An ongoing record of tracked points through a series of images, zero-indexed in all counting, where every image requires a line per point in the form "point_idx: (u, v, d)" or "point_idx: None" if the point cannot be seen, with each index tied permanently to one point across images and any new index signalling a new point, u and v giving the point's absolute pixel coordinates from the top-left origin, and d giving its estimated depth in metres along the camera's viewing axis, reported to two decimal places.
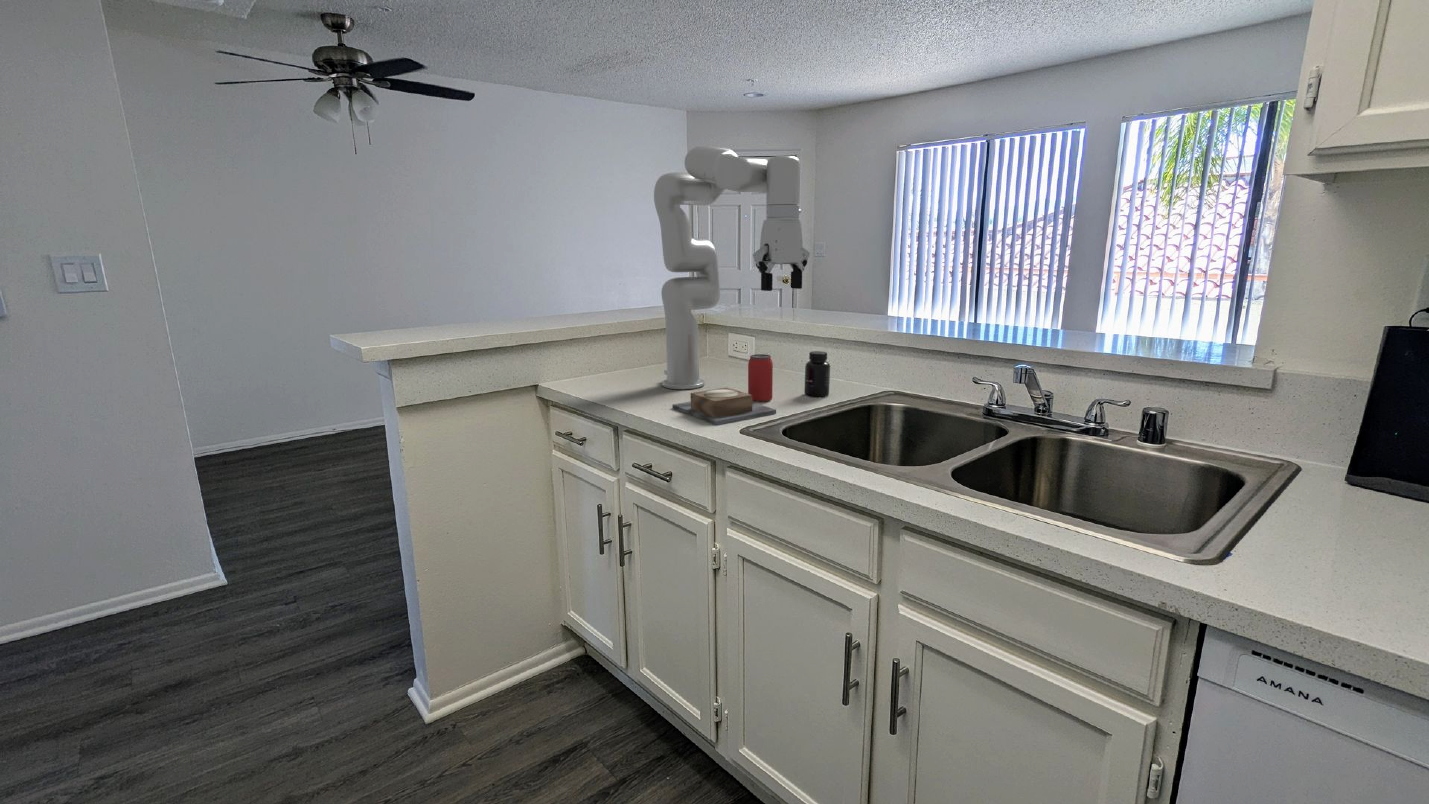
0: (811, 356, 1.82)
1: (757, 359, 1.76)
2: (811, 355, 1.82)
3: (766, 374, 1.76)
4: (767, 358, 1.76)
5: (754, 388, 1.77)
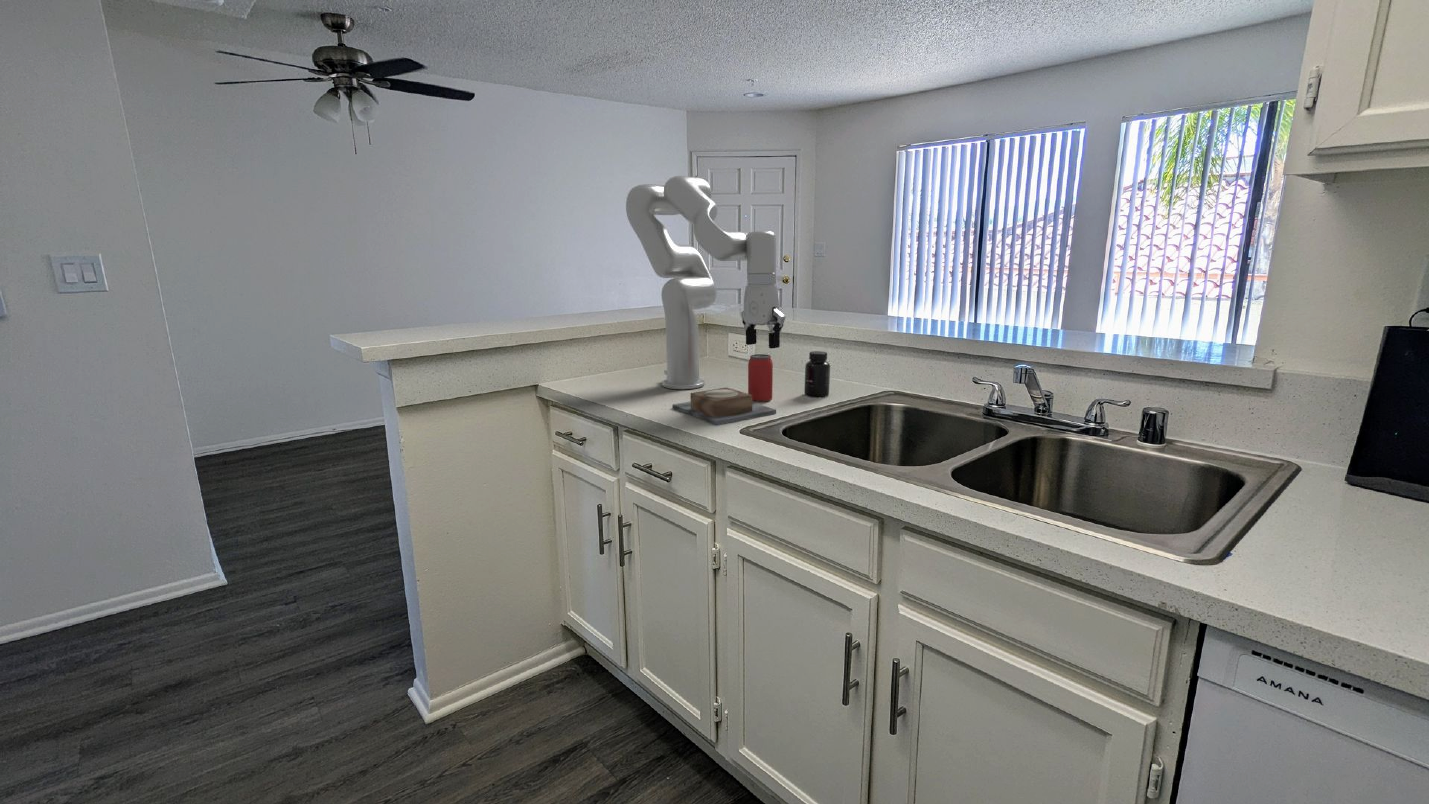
0: (811, 356, 1.82)
1: (757, 359, 1.76)
2: (811, 355, 1.82)
3: (766, 374, 1.76)
4: (767, 358, 1.76)
5: (754, 388, 1.77)
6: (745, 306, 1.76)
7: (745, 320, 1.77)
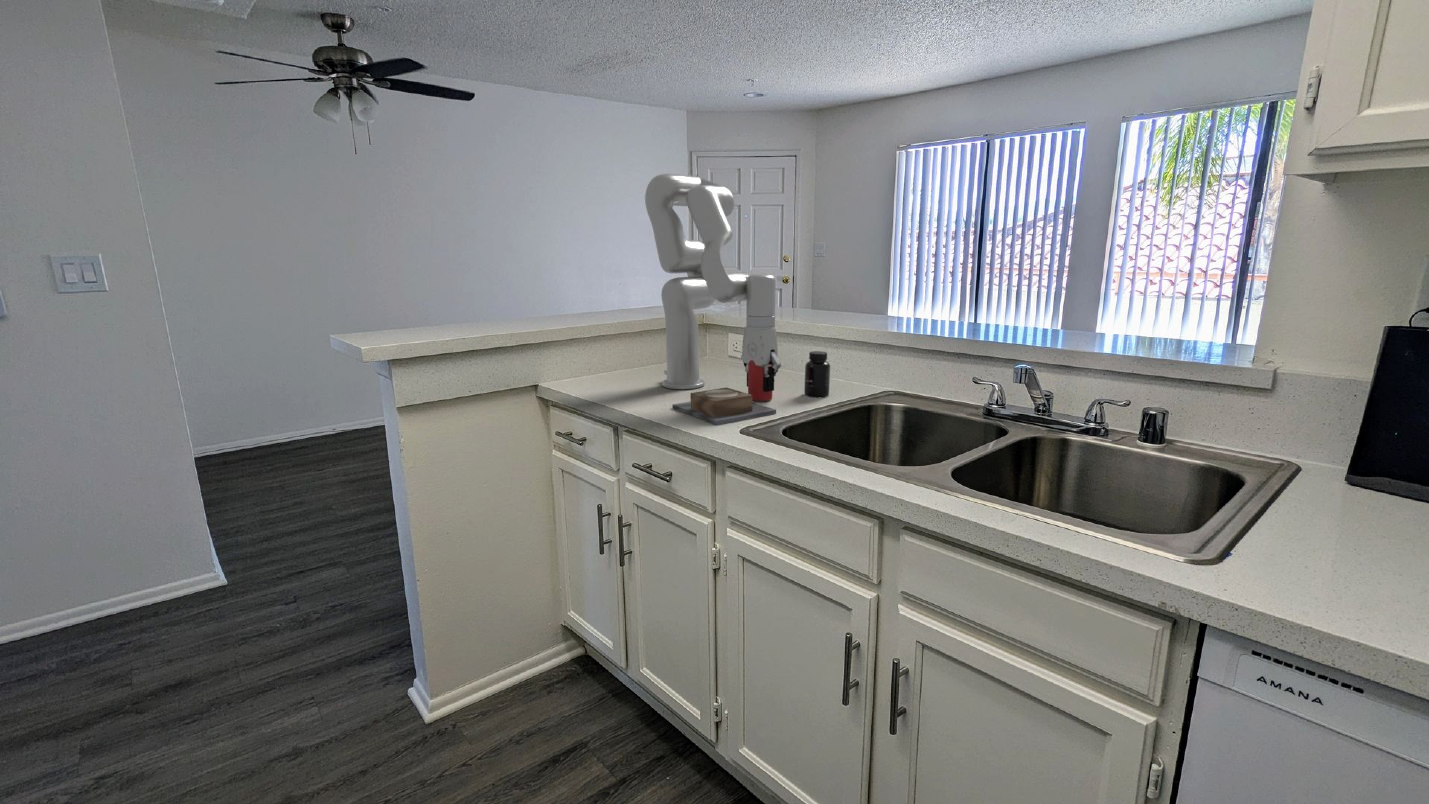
0: (811, 356, 1.82)
1: None
2: (811, 355, 1.82)
3: None
4: None
5: (754, 388, 1.77)
6: (744, 347, 1.79)
7: (744, 360, 1.80)
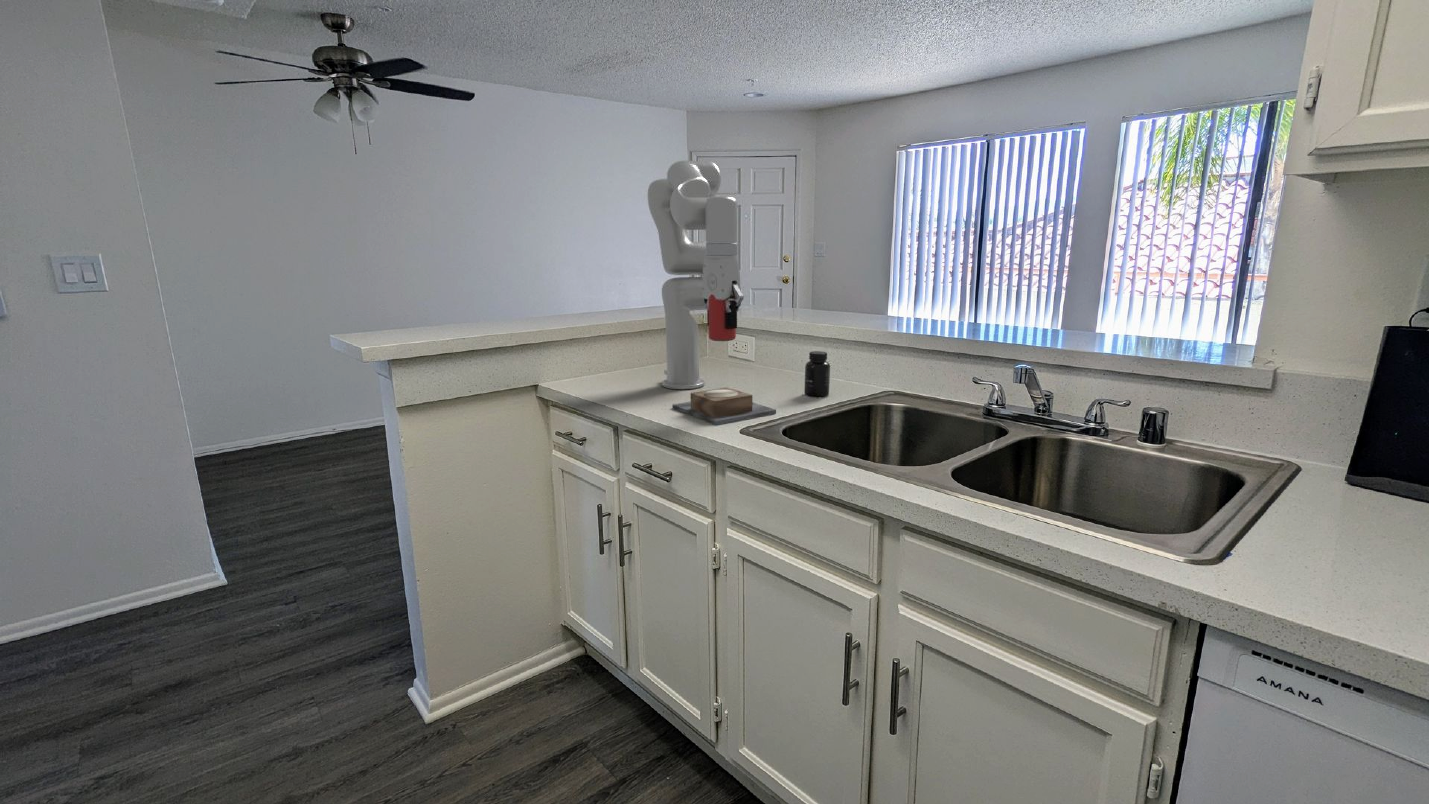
0: (811, 356, 1.82)
1: None
2: (811, 355, 1.82)
3: None
4: None
5: (715, 325, 1.59)
6: (704, 280, 1.61)
7: (703, 295, 1.62)
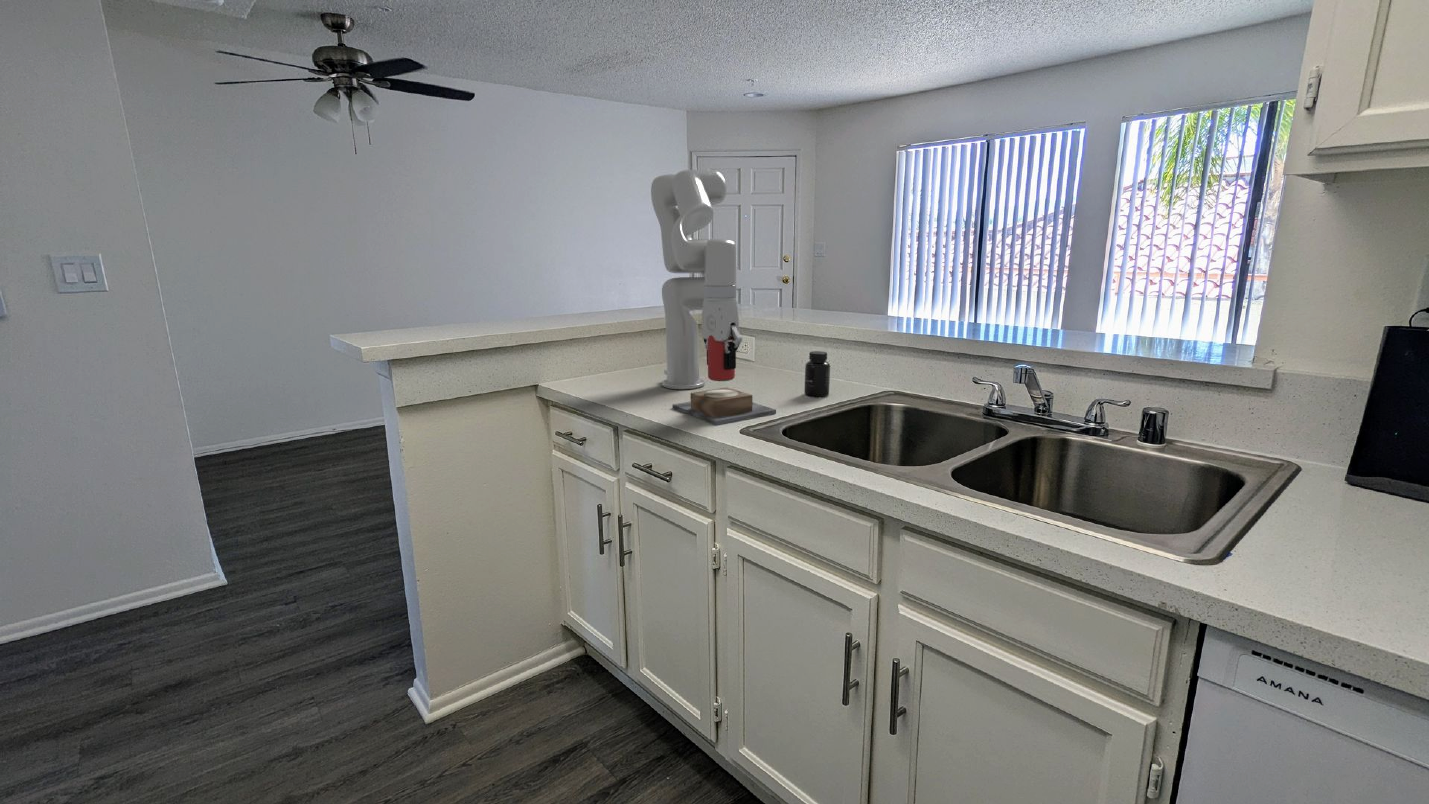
0: (811, 356, 1.82)
1: None
2: (811, 355, 1.82)
3: None
4: None
5: (714, 366, 1.61)
6: (703, 321, 1.63)
7: (703, 335, 1.64)
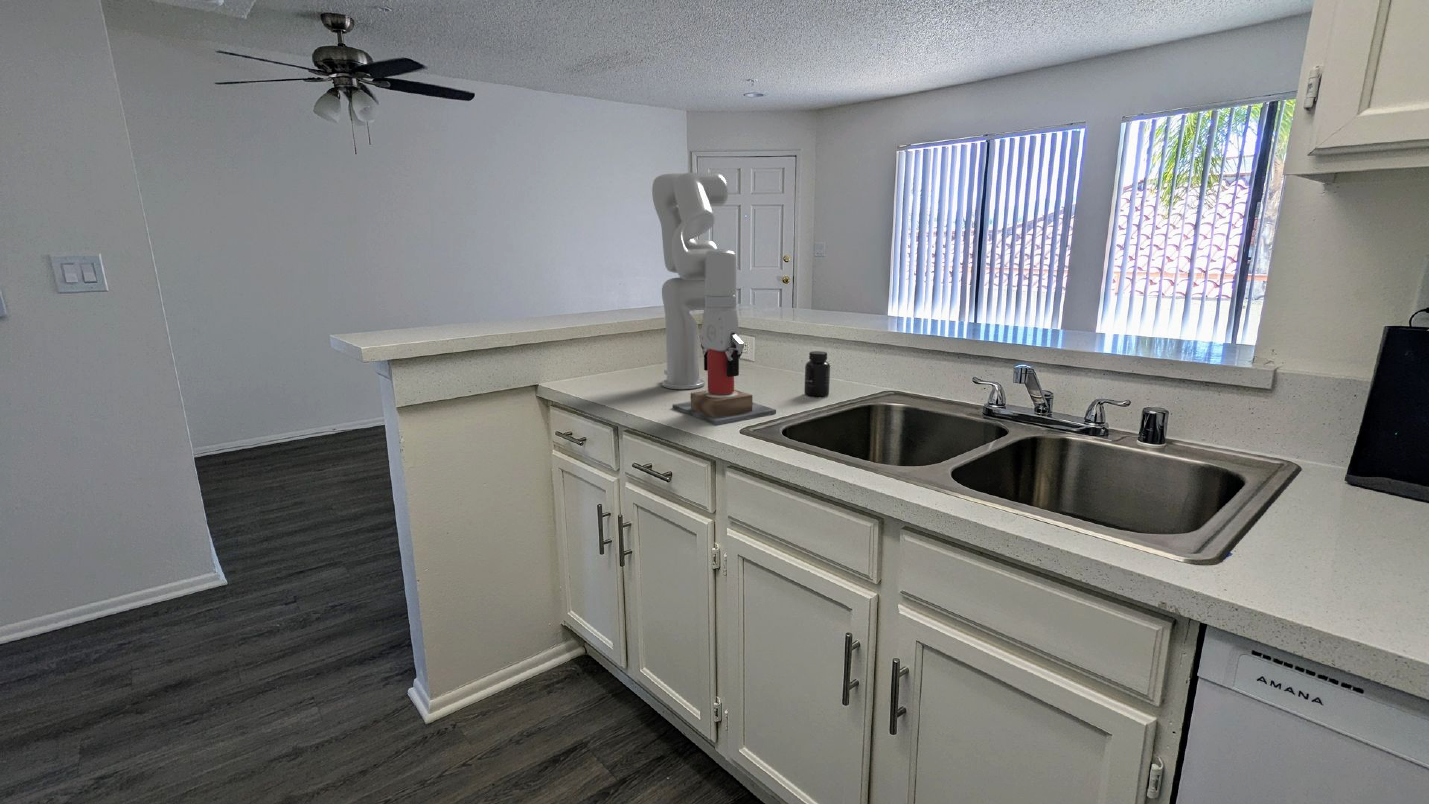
0: (811, 356, 1.82)
1: None
2: (811, 355, 1.82)
3: None
4: None
5: (714, 380, 1.62)
6: (703, 330, 1.63)
7: (703, 345, 1.64)
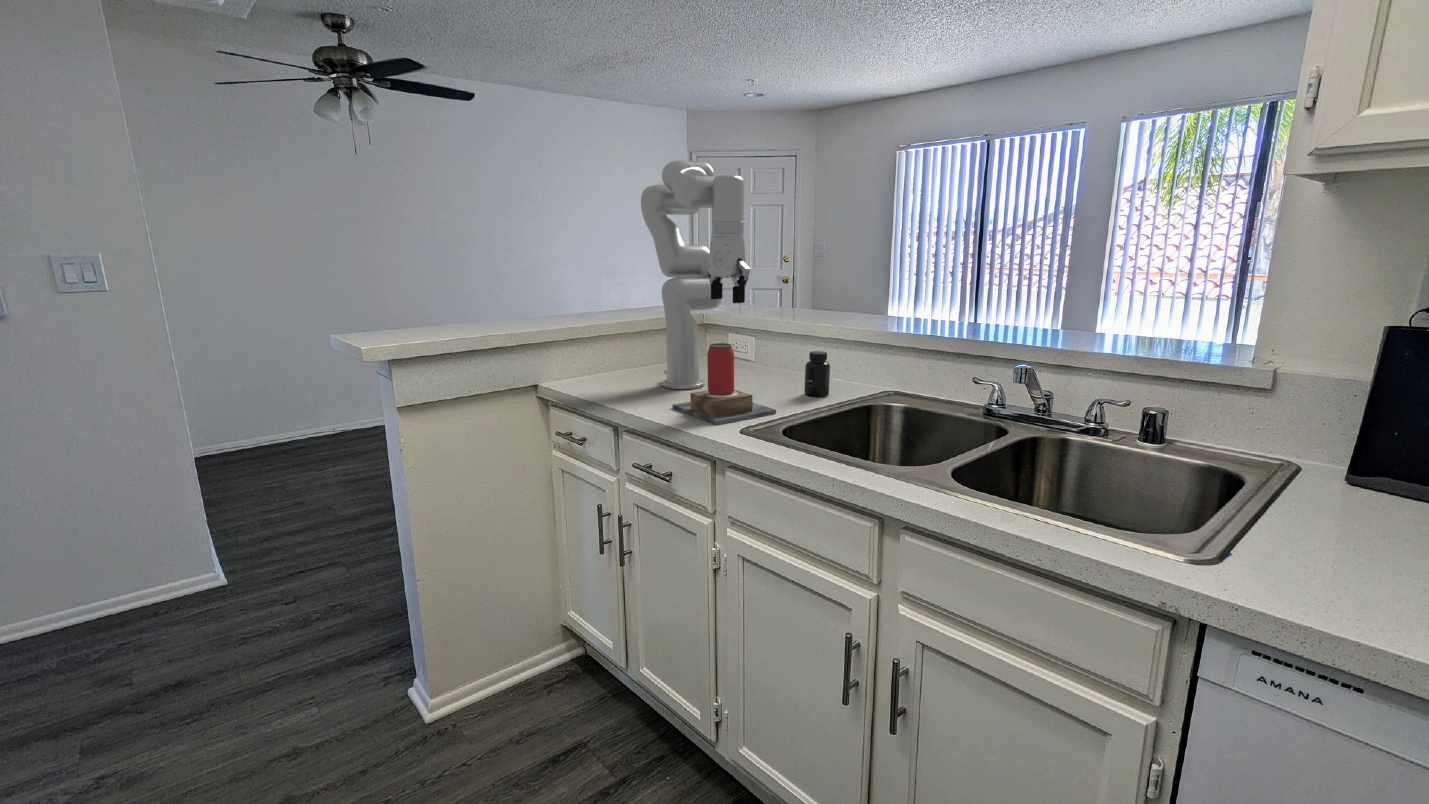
0: (811, 356, 1.82)
1: (717, 348, 1.61)
2: (811, 355, 1.82)
3: (727, 365, 1.61)
4: (728, 347, 1.61)
5: (714, 380, 1.62)
6: (710, 257, 1.64)
7: (710, 272, 1.66)
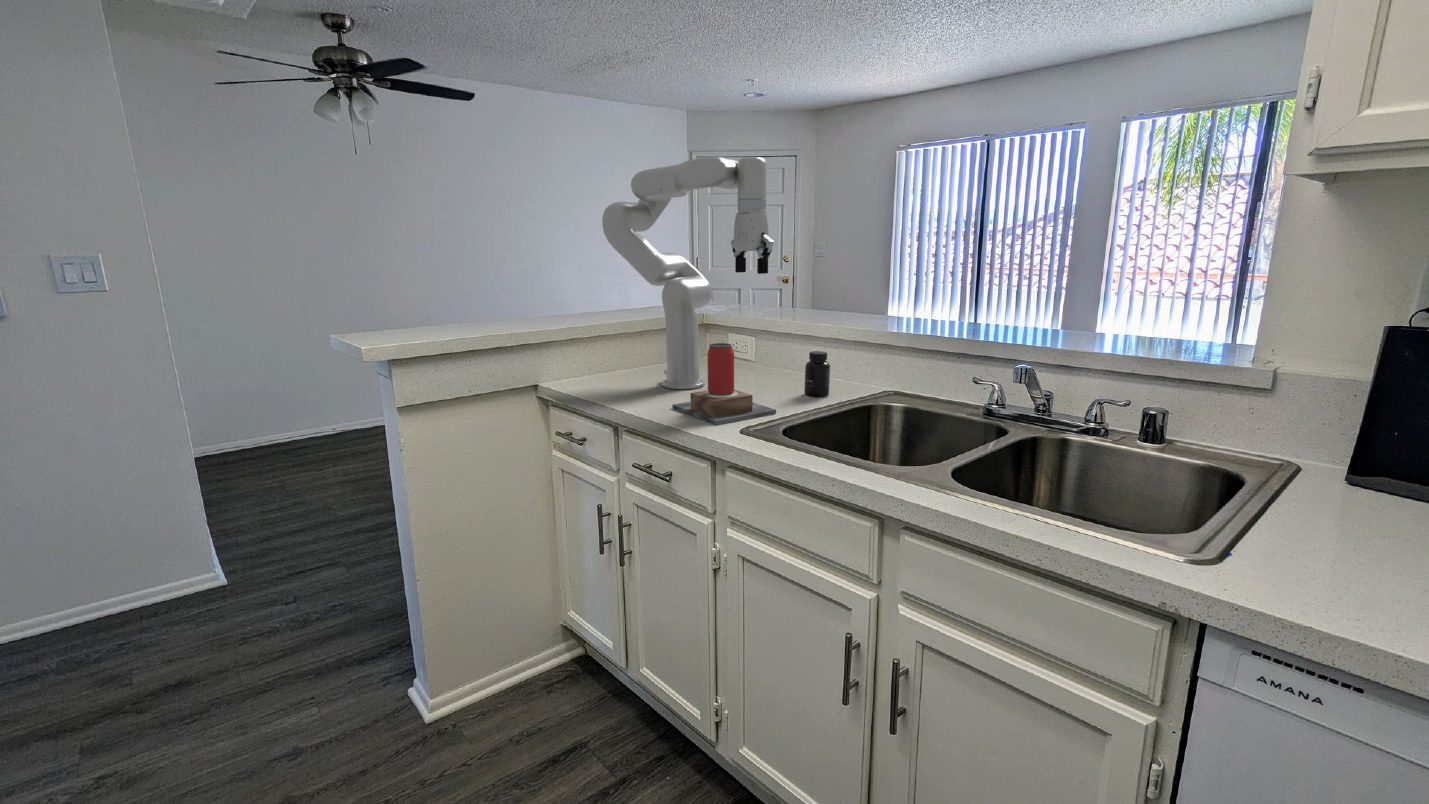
0: (811, 356, 1.82)
1: (717, 348, 1.61)
2: (811, 355, 1.82)
3: (727, 365, 1.61)
4: (728, 347, 1.61)
5: (714, 380, 1.62)
6: (735, 233, 1.80)
7: (735, 247, 1.81)
